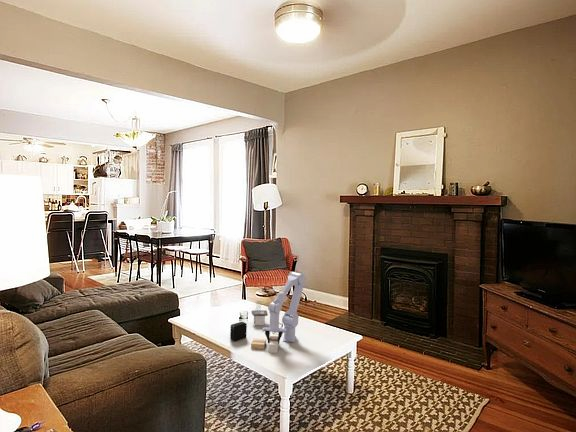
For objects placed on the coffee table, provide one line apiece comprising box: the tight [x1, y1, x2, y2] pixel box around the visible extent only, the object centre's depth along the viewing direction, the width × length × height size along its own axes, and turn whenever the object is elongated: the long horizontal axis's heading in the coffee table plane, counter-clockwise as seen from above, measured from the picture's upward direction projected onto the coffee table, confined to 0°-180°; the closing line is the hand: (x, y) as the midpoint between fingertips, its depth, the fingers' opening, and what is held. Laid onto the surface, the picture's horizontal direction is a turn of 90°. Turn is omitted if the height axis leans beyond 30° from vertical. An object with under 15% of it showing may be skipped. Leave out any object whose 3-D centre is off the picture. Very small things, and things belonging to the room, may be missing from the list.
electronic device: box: [229, 321, 248, 342], centre depth 236 cm, size 4×10×10 cm, turn 135°
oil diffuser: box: [251, 300, 269, 326], centre depth 266 cm, size 26×24×17 cm
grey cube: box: [268, 341, 279, 354], centre depth 220 cm, size 5×5×5 cm
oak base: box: [250, 338, 267, 350], centre depth 226 cm, size 8×8×3 cm
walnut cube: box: [268, 335, 278, 344], centre depth 228 cm, size 5×5×5 cm
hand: (273, 343), depth 228 cm, fingers open, 6 cm apart
